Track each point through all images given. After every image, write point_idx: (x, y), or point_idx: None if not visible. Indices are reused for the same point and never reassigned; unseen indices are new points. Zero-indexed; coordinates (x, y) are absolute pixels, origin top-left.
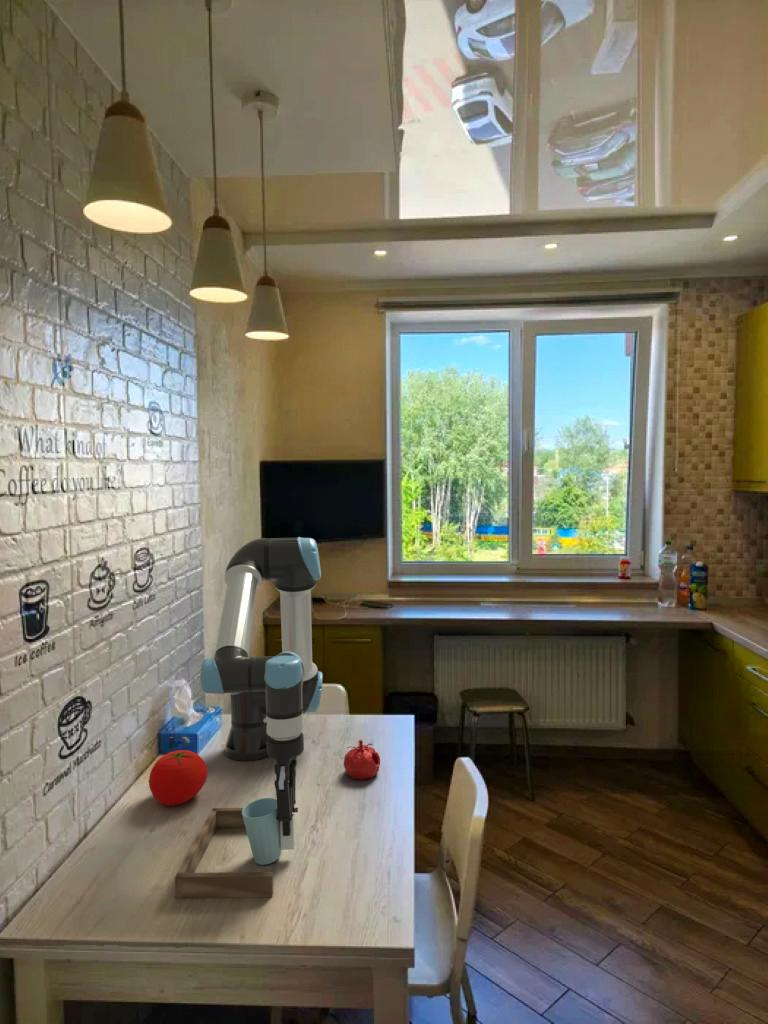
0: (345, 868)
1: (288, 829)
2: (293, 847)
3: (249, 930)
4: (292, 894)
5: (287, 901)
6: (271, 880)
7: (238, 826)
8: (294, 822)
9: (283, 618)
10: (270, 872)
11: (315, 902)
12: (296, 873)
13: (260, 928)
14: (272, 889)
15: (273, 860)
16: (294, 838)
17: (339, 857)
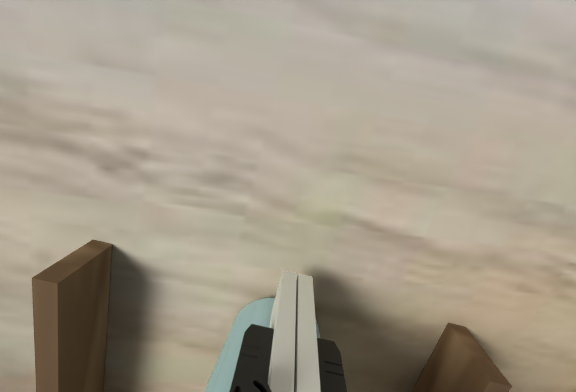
0: (422, 82)
1: (341, 378)
2: (312, 282)
3: (564, 379)
4: (479, 276)
5: (504, 292)
6: (499, 372)
7: (99, 389)
8: (278, 345)
9: None
10: (489, 388)
11: (553, 217)
12: (382, 255)
13: (572, 358)
14: (469, 339)
15: (316, 323)
16: (295, 293)
17: (343, 94)
